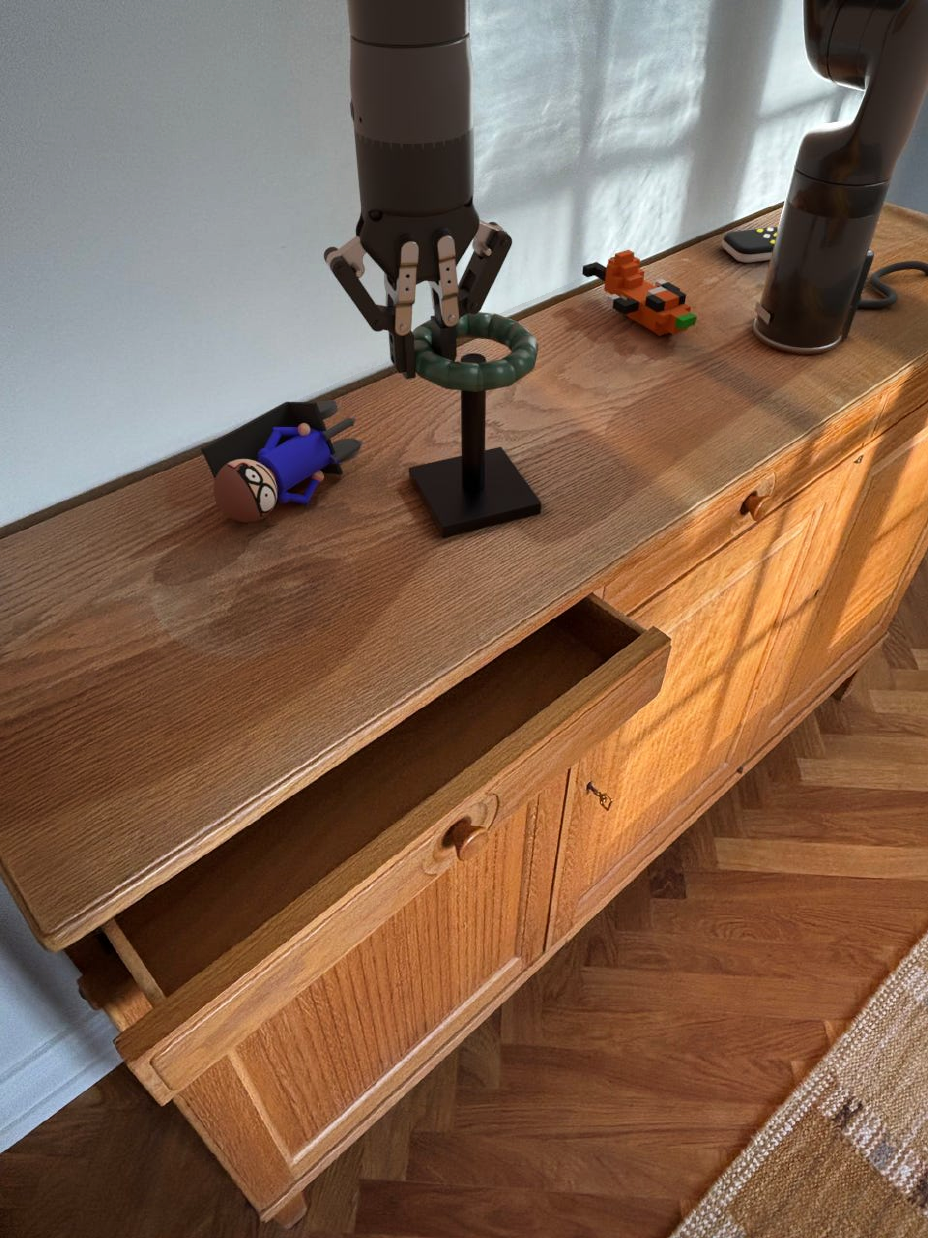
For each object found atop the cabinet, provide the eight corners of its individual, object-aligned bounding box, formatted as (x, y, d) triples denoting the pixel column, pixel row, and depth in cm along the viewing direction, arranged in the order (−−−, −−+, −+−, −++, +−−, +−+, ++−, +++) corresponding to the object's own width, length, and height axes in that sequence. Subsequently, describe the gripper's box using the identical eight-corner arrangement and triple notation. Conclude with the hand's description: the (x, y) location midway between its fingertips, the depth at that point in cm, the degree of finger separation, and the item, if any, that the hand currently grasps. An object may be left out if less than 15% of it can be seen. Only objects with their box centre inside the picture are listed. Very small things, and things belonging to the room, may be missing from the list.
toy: (632, 234, 101) (722, 282, 92) (625, 284, 106) (712, 334, 97) (577, 250, 98) (665, 300, 89) (573, 301, 103) (657, 354, 94)
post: (500, 456, 81) (504, 323, 71) (540, 513, 75) (550, 375, 65) (409, 478, 78) (400, 343, 69) (442, 538, 73) (438, 399, 63)
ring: (506, 322, 72) (507, 299, 70) (557, 381, 65) (560, 357, 64) (390, 342, 69) (389, 318, 68) (432, 406, 63) (432, 381, 61)
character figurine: (378, 473, 79) (248, 556, 72) (324, 439, 82) (194, 514, 75) (375, 401, 74) (233, 483, 66) (317, 367, 77) (175, 441, 69)
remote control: (717, 245, 113) (720, 230, 112) (805, 235, 115) (809, 220, 114) (739, 265, 109) (742, 249, 108) (830, 254, 111) (834, 238, 110)
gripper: (319, 151, 50) (350, 413, 62) (540, 122, 53) (527, 376, 66) (290, 114, 55) (324, 364, 67) (493, 90, 58) (490, 332, 70)
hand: (424, 369), depth 66 cm, fingers closed on ring, 2 cm apart
